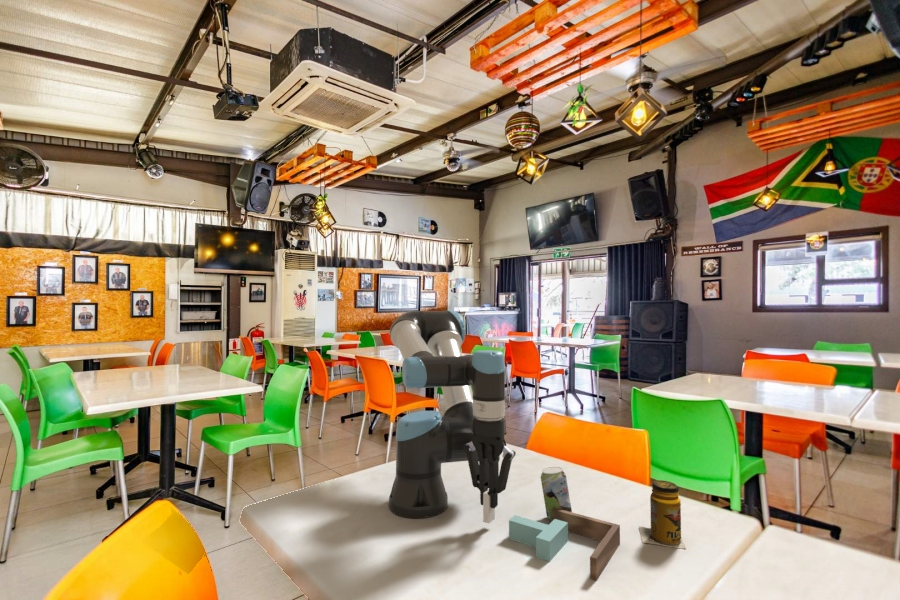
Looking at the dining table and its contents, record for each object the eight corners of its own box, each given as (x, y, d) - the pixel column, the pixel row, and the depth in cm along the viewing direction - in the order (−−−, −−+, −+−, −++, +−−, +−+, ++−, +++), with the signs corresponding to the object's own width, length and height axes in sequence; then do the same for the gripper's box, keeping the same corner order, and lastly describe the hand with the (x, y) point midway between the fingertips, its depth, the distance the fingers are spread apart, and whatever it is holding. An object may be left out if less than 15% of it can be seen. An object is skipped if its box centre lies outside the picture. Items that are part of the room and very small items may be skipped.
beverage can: (573, 527, 104) (572, 474, 104) (541, 524, 105) (540, 472, 106) (571, 515, 110) (571, 465, 110) (540, 512, 111) (540, 463, 112)
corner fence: (523, 555, 91) (522, 535, 92) (553, 524, 105) (553, 507, 105) (596, 580, 83) (596, 558, 83) (619, 544, 96) (619, 525, 96)
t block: (501, 545, 96) (501, 526, 96) (522, 527, 104) (522, 509, 104) (549, 561, 89) (549, 541, 89) (568, 541, 97) (567, 522, 97)
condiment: (686, 549, 94) (685, 491, 94) (642, 543, 96) (641, 487, 97) (679, 533, 101) (678, 479, 101) (638, 527, 103) (638, 475, 104)
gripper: (456, 416, 105) (456, 519, 104) (505, 424, 97) (506, 534, 96) (473, 411, 111) (473, 507, 110) (521, 418, 103) (521, 521, 102)
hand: (489, 520), depth 103 cm, fingers closed
